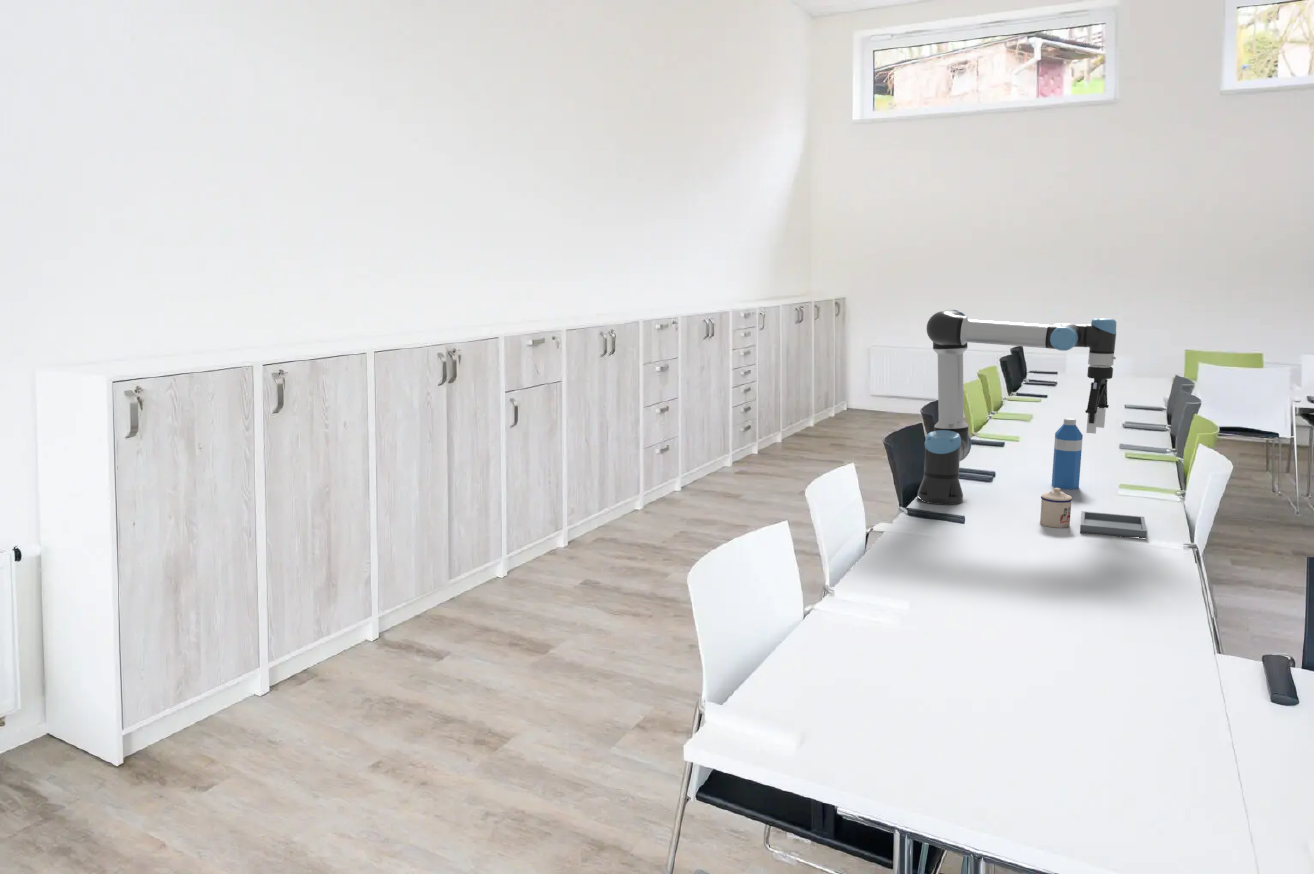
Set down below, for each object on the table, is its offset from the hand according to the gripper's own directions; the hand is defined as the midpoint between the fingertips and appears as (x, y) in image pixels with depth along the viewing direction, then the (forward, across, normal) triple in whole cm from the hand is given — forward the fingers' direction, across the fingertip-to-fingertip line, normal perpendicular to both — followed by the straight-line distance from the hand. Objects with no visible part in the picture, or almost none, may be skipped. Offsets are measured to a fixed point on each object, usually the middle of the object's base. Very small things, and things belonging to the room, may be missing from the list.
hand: (1095, 430), depth 323 cm
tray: (+26, -25, -12) cm, 38 cm away
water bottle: (+26, +28, +14) cm, 41 cm away
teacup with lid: (+26, -28, +4) cm, 39 cm away
